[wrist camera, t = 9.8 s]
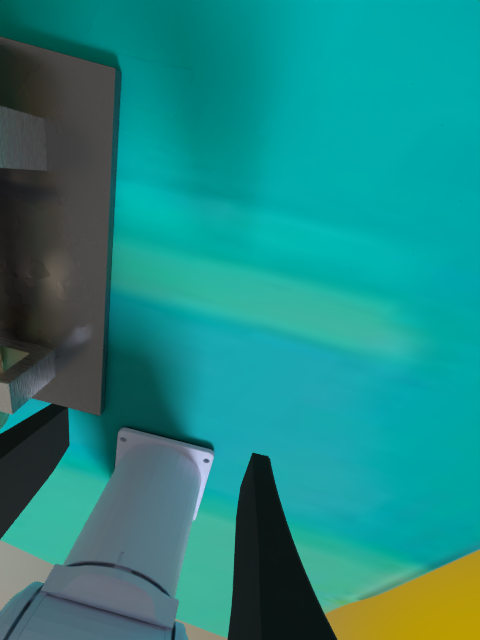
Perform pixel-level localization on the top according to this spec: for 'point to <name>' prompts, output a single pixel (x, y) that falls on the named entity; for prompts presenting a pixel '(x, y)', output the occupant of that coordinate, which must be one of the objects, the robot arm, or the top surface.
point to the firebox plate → (55, 225)
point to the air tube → (0, 417)
